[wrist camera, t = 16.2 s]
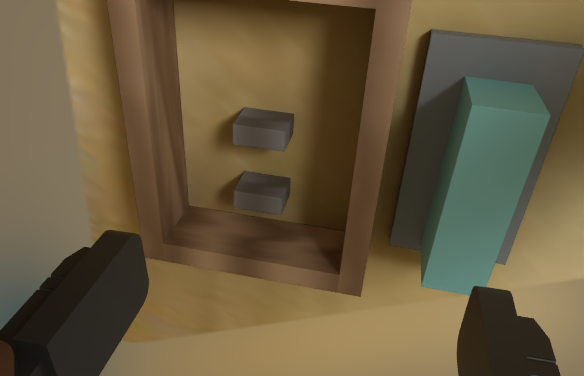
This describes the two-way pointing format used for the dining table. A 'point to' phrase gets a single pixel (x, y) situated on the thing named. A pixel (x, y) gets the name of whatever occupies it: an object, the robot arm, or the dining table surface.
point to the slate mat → (442, 106)
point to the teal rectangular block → (480, 181)
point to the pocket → (252, 186)
